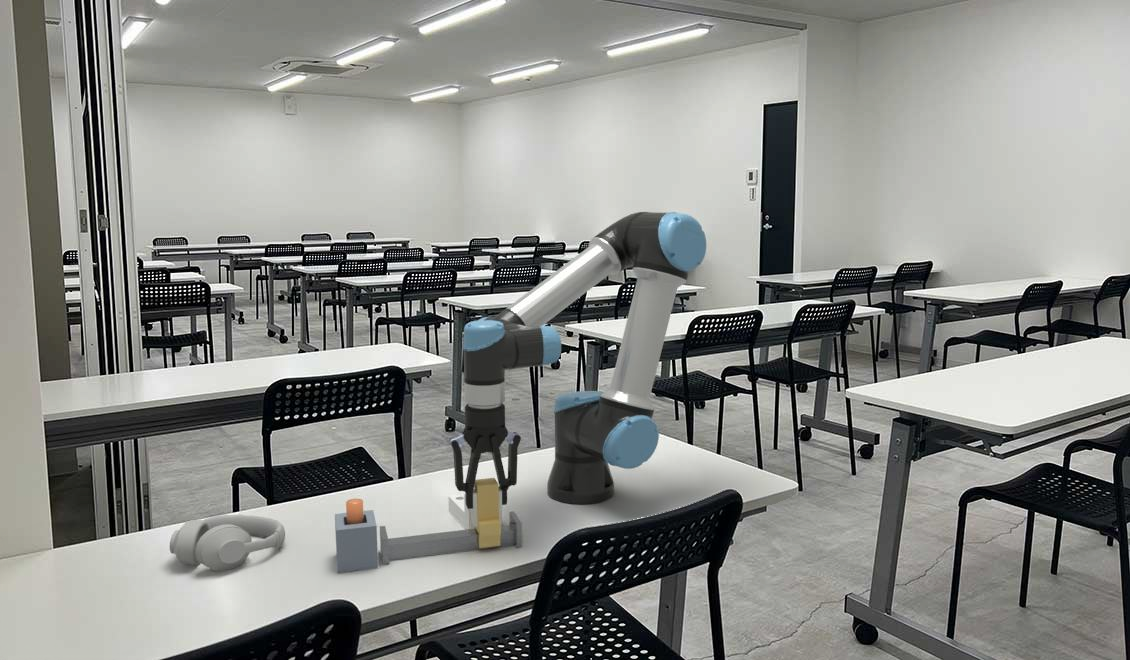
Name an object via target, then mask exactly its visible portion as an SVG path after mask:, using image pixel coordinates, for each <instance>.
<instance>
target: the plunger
mask: <svg viewBox="0 0 1130 660" xmlns="http://www.w3.org/2000/svg"><path fill="white" fill-rule="evenodd" d="M345 506H346V508H345V509H346V512H345V513H346V514H347V525H351V524H360V523H364V514H363V511H364V500H363V499H361V498H350V499H347V500H346V502H345Z"/></svg>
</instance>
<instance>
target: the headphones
mask: <svg viewBox="0 0 1130 660" xmlns="http://www.w3.org/2000/svg"><path fill="white" fill-rule="evenodd" d="M253 536H254V537H262V538H264V537H265V538H264V539H259V540H254V541H252V540H253V539H252V537H253ZM285 539H286V530H285V527H284V525H283V524H282V522H280V521H279V520H277V519H273V518H270V517H265V516H259V515H258V516H257V515H247V514H246V515H244V514H221V515H220V514H219V515H215V516H214V515H213V516H211V517H210V516H209V517H207V518H205V519H191V520H188V521H185V522H184V523H183V525H182V526H181V527H180V529H179V530H175V531H174V532H173V533H172V534H171V536H170V541H169V551H170V553H171V554H172V555H175V559H176V560H177V562H178V563H179V564H180V565H184V566H198V565H200V564H201V565H203V566H205V567H206V568H208V569H210V570H213V571H218V572H223V571H228V570H232V569H235V568H236V567H238V566H240V565H241V564H242V563H243V562H244V561H246V559H248V557H249V555H250V553H253V552H254V553H255V552H258V551H262V550H268V549H270V548H275V549H280V548H281V547H282V546H283V545H284V543H285Z"/></svg>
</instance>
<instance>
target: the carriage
mask: <svg viewBox="0 0 1130 660" xmlns="http://www.w3.org/2000/svg"><path fill="white" fill-rule="evenodd" d="M498 486H499V483H498V480H496V478H495V477H490V478H480V479H479V478H476V479H475V484H474V489H475V490H476V492H477V508H478V526H475V527H474V529H475V528H476V530H477V532H478V538H479V548H485V547H493V546H500V535H501V525H502V523H501V522H500V520H499V487H498Z"/></svg>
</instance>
